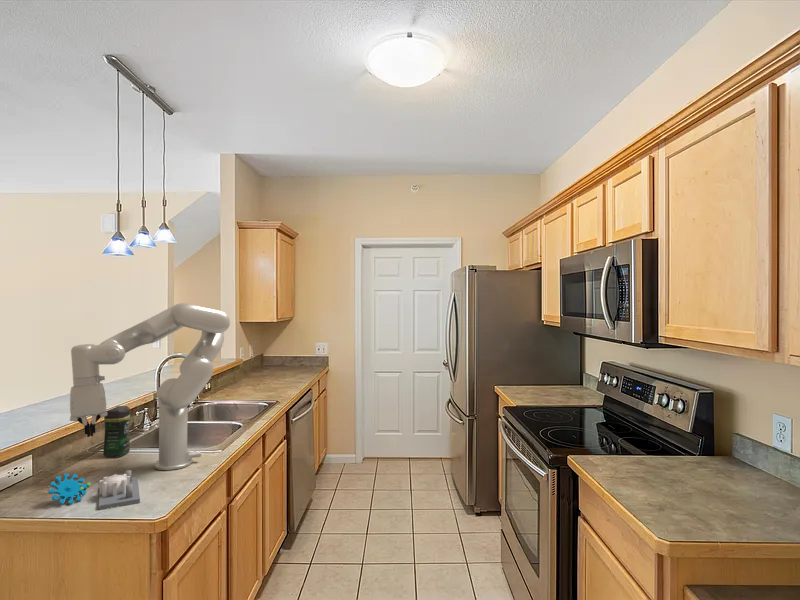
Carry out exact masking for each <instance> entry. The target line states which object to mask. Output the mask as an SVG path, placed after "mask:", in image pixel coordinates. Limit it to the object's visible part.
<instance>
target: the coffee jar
mask: <svg viewBox="0 0 800 600" xmlns="http://www.w3.org/2000/svg"><path fill="white" fill-rule="evenodd" d="M107 413H108V415H107V416H104V417H103V419H104V420H103V421H104V439H103V440H104V442H103V457H106V458H110V459H115V458H116V457H123V456H125V455H126V454H128V453H129V452H130V451H131V450H130V449H131V448H130V446H131V445H130V444H131V441H130V421H131V408H130V407H128V406H127V405H117V406H115V407H113V408H110V409H107Z"/></svg>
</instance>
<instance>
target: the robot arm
mask: <svg viewBox="0 0 800 600" xmlns="http://www.w3.org/2000/svg"><path fill="white" fill-rule="evenodd" d="M230 325H231V319H230V316H229V315H228V314H227V313H226V312H224V311H221V310H219V309H213V308H209V307H203V306H199V305H196V304H193V303H185V302H184V303H183V302H180V303H176V304H174V305H172V306H170V307H169V308H167V309H165V310H162V311H161V312H159V313H156V314H155V315H153V316H151V317H150V318H149V317H148V318H147V319H145V320H143V321H142V322H139V323H137V324H135V325H133V326H131V327H129V328H126V329H124V330H122V331H121V332H119V333H117V334H114V335H113V336H111V337H109V338H107V339H105V340H104V341H102V342H101V343H100V344H93V343H92V344H91V343H88V344H87V343H86V344H85V343H84V344H77V345H74V346H73V347H72V348H71V349H70V354H71V355H70V356H71V369H72V385H73V386H71V387H70V393H69V412H70V418H69V421H70V422H79V423H80V424H81V425H83V427H84V435H87V438H90V437H94V434H96V423H97V422H98V421H99V420H100V419H101V418H104V416H107V415H108V413H107V411H108V409H107V399H106V398H107V397H106V390H105V388H104V387H105V386H104V384H103V382H102V381H105V375H103V376H102V375H100V365H116V364H119V363H120V362H122V361H123V360H124V358H125V356H126V354H127V353H128V352H131V351H132V350H134V349H137V348H138V347H142V346H145V345H150V344H154V343H156V342H159V341H161V340H162V339H164V338H166V337H167V336H169V335H171V334H173V333H175V332H177V331H179V330H180V329H182V328H188V329H193V330H197V331H201V336H200V338H199V340H198V342H197V343H196V345H194V347H193V348H192V349H191V350H190V352H189V353H188V354H187V356H185V358H184V359H183V360H182V361H181V362H180V365H179V373H180V374H179V376H178V377H177V378H175V377H172V378H168V379H166V380H164V381H163V382H162V383H161V384H160V386H159V388H158V391H157V401H158V460H156V461H155V462H154V463H153V467H154V469H156V470H158V471H159V470H160V471H173V470H179V469H183V468H186V467H188V466H189V465H192V461H193V460H192V458H200V457H201V458H202V452H201V451H197V450H193V451H189V449H188V420H189V416H188V406H189V405H190V404H192V403H193V402H194V401H195V399H196V398H197V397H198V396H199V394H200V393H201V392H202V391H203V389H204V388H205V387H206V386H207V384H208V382H209V381H210V380H211V378H212V376H213V373H214V365H213V363H212V362H213V361H214V360H215V358H216V357H217V355H218V354H219V353H220V351H221V349H222V347H223V346H224V339H225V332H226V331H228V329H229V328H230ZM89 416H91V421H90V423H89V421H88V418H87V417H89Z"/></svg>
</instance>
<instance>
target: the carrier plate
mask: <svg viewBox="0 0 800 600" xmlns="http://www.w3.org/2000/svg"><path fill="white" fill-rule="evenodd" d="M98 483H99V488H98V490H99V491H98V492H99V499H98V511H101V509H102V510H107V508H108V509H112V508H111V507H113V508H117V506H119V507H124V506H123V505H125V506H130V505H135V503H136V504H140V503H141V496H140V489H139V480H138V477H132V469H127V470H125V471H124V474H113V475H111V476H104V477H102V479H99V482H98ZM129 504H130V505H129Z"/></svg>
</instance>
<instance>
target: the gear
mask: <svg viewBox="0 0 800 600" xmlns="http://www.w3.org/2000/svg"><path fill="white" fill-rule="evenodd" d="M69 476H70V473H64V474H63V481H61V480H62V476H61V475H58V476H56V477H55V479H54V480H55V481H51V483H50V484H49V487H51V488H49V490H48V494H49V495H52V497H51V500H52V501H54V502H55V501H56V500H57V499H60V500H59V501H58V504H60V505H63V504H64V503H65V501H66V500H67V499H69V500H68V502H67V505H69V504H71V505H73V504H74V497H76V499H75V502H81V500H82V499H83V498H82V497H85V495H86V494H87V493H88V491H87V489H88V488H90V487H91V485H92V483H91V482H87V483H84V482H85V478H83V477H80V478H79V479H77V478H78V475H77V474H76V473H73V475H72V476H71V478H70V479H68V478H69ZM75 479H77V480H75ZM56 482H57V483H58V484H56ZM55 489H56V490H55Z"/></svg>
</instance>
